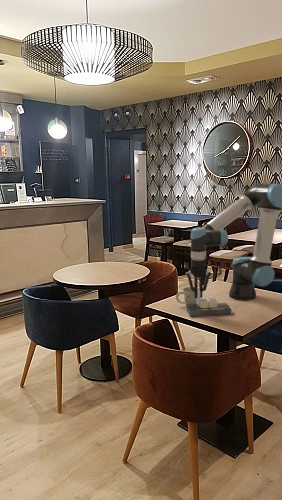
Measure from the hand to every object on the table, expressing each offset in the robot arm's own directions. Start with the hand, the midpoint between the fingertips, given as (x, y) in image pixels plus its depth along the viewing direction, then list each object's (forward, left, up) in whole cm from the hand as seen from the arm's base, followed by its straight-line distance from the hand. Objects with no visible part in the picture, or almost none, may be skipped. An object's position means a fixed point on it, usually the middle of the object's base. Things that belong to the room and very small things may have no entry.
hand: (198, 303), depth 202 cm
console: (-5, 0, -5) cm, 7 cm away
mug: (+4, -10, -5) cm, 12 cm away
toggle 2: (-7, 0, -2) cm, 7 cm away
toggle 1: (-3, 0, -2) cm, 3 cm away
